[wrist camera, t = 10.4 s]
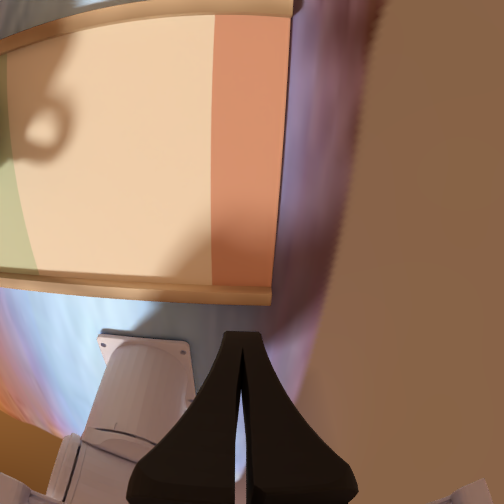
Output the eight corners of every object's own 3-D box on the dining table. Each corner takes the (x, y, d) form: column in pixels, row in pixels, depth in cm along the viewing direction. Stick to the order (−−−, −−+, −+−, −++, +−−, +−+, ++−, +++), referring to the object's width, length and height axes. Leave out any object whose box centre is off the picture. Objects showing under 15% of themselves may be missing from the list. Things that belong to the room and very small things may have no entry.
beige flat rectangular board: (269, 296, 23) (270, 305, 22) (-55, 272, 22) (-60, 278, 21) (290, 3, 14) (293, -2, 13) (-91, 92, 12) (-98, 94, 11)
